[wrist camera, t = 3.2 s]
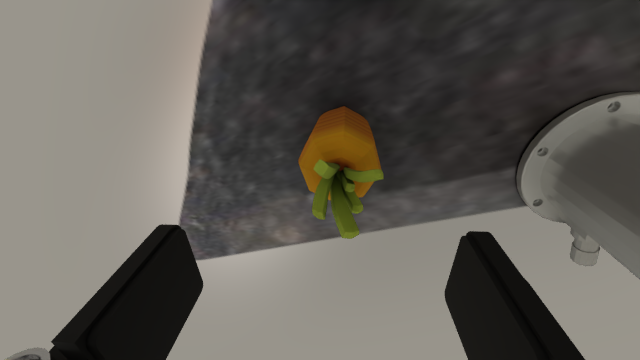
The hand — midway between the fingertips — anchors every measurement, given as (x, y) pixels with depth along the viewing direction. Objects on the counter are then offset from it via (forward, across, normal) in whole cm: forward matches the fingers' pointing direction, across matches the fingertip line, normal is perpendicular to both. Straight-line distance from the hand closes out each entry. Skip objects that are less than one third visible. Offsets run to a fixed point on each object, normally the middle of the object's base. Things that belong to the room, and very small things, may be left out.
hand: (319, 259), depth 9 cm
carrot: (+18, -1, 0) cm, 18 cm away
